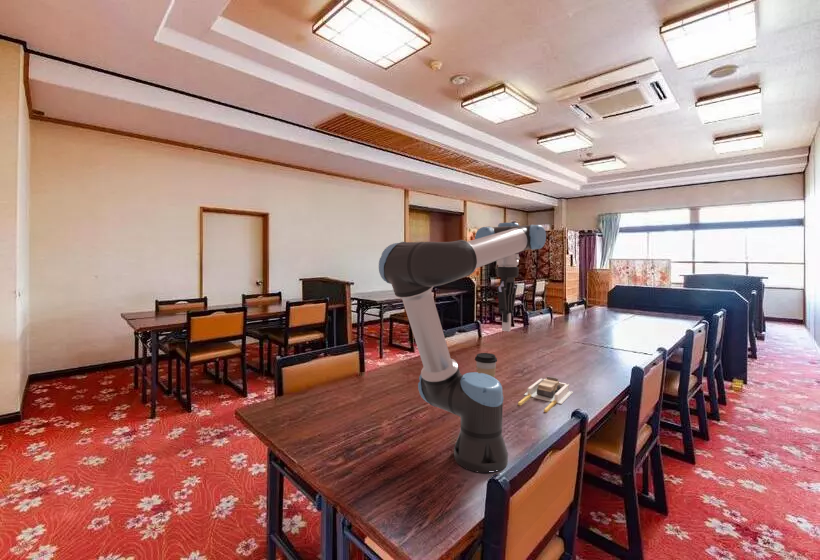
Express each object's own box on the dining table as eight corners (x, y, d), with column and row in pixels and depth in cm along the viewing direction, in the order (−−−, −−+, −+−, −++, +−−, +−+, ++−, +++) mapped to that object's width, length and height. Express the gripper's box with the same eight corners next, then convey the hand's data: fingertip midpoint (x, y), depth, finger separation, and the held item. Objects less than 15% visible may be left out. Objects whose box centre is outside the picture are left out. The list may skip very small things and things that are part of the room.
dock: (552, 414, 137) (552, 404, 137) (513, 403, 146) (513, 395, 146) (572, 392, 158) (573, 384, 158) (537, 384, 167) (537, 377, 167)
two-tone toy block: (551, 399, 150) (551, 385, 150) (536, 395, 154) (537, 382, 153) (560, 391, 159) (560, 378, 158) (545, 387, 162) (546, 375, 162)
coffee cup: (496, 394, 156) (497, 359, 155) (473, 392, 158) (474, 357, 157) (496, 386, 165) (497, 353, 164) (474, 385, 167) (475, 351, 166)
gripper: (510, 266, 128) (508, 335, 129) (524, 265, 138) (523, 329, 140) (489, 266, 132) (488, 332, 134) (505, 265, 142) (504, 326, 144)
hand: (506, 330), depth 137 cm, fingers closed
